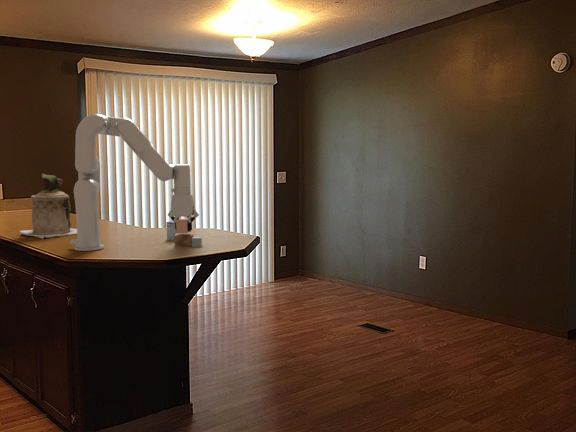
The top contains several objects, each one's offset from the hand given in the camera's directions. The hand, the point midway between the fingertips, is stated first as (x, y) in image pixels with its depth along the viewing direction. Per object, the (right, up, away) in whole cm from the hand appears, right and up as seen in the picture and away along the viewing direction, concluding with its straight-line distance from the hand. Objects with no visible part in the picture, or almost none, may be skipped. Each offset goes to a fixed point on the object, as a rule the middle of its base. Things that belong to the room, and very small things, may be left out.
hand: (183, 230), depth 264 cm
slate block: (+7, -7, -3) cm, 10 cm away
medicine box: (-8, -5, +19) cm, 21 cm away
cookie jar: (-77, -3, +41) cm, 87 cm away
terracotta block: (0, -1, 0) cm, 1 cm away
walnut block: (0, -7, +1) cm, 7 cm away
